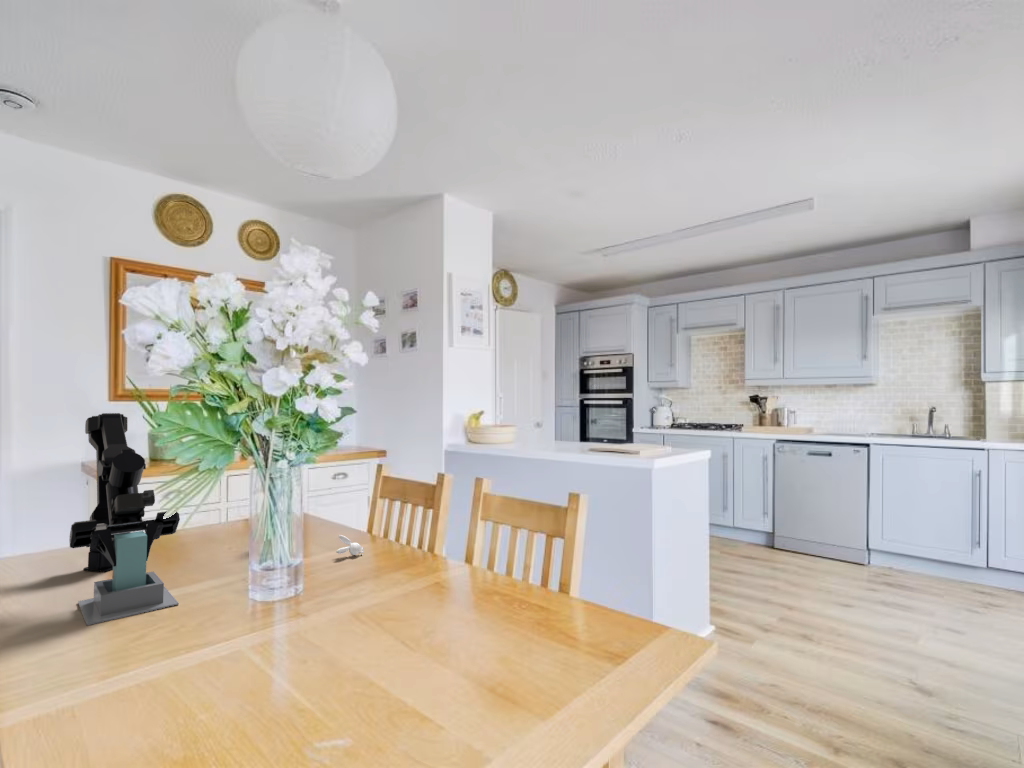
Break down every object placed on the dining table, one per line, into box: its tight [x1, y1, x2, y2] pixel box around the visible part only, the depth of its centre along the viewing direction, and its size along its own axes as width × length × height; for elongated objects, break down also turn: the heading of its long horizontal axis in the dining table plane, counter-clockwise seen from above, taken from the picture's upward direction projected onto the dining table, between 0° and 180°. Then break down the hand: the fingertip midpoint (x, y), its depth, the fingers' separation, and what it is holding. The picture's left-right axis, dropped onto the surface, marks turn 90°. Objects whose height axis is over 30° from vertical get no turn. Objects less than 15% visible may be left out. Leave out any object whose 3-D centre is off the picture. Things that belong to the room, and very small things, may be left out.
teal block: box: [111, 530, 148, 592], centre depth 112 cm, size 5×5×12 cm
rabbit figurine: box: [336, 534, 364, 556], centre depth 147 cm, size 6×4×8 cm
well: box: [77, 571, 179, 626], centre depth 111 cm, size 15×15×4 cm
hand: (130, 562), depth 111 cm, fingers closed on teal block, 5 cm apart
